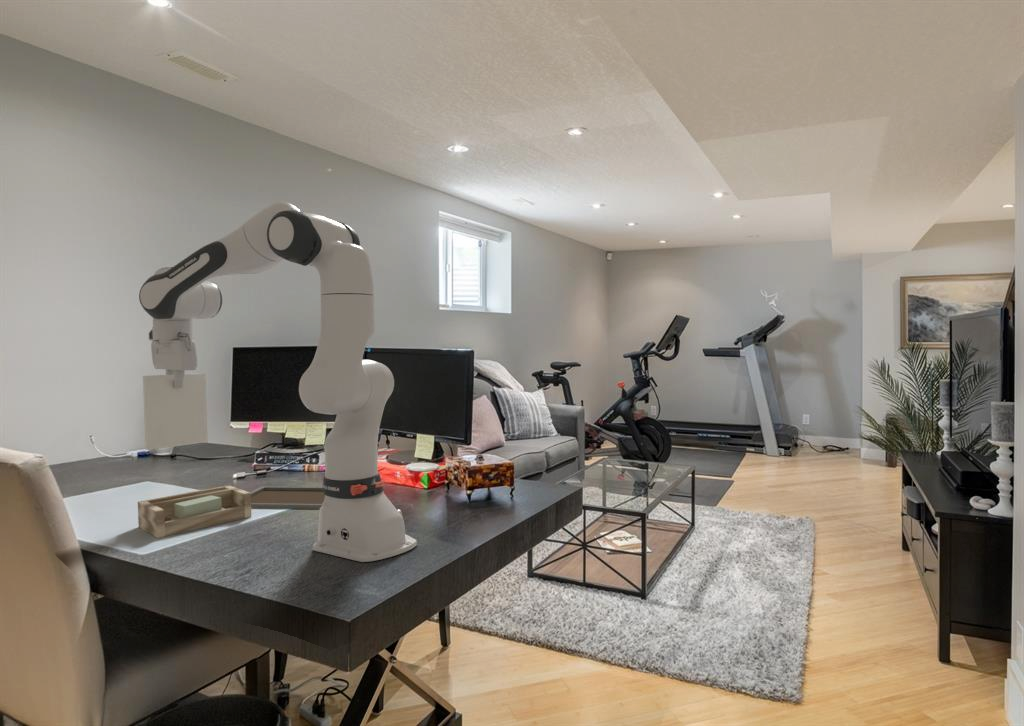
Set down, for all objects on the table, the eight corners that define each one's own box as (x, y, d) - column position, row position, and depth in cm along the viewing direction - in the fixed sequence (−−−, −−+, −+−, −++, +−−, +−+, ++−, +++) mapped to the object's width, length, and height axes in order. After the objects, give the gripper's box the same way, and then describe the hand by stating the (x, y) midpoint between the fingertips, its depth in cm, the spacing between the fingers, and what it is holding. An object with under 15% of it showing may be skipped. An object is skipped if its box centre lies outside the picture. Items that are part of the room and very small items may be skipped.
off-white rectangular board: (207, 442, 159) (205, 373, 159) (147, 449, 149) (145, 376, 148) (205, 441, 161) (202, 373, 160) (145, 449, 150) (142, 376, 150)
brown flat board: (325, 504, 158) (215, 503, 161) (325, 511, 158) (215, 509, 161) (351, 487, 177) (252, 486, 180) (351, 492, 177) (253, 491, 180)
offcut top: (221, 509, 149) (221, 497, 149) (184, 519, 142) (184, 506, 142) (211, 507, 152) (210, 495, 152) (174, 516, 144) (174, 503, 144)
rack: (251, 516, 152) (250, 492, 152) (157, 538, 136) (156, 511, 136) (229, 507, 160) (228, 485, 160) (138, 526, 145) (137, 501, 145)
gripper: (203, 332, 149) (205, 388, 150) (172, 333, 163) (174, 385, 163) (175, 332, 144) (177, 390, 145) (146, 333, 158) (148, 387, 159)
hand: (175, 387), depth 154 cm, fingers closed on off-white rectangular board, 2 cm apart
